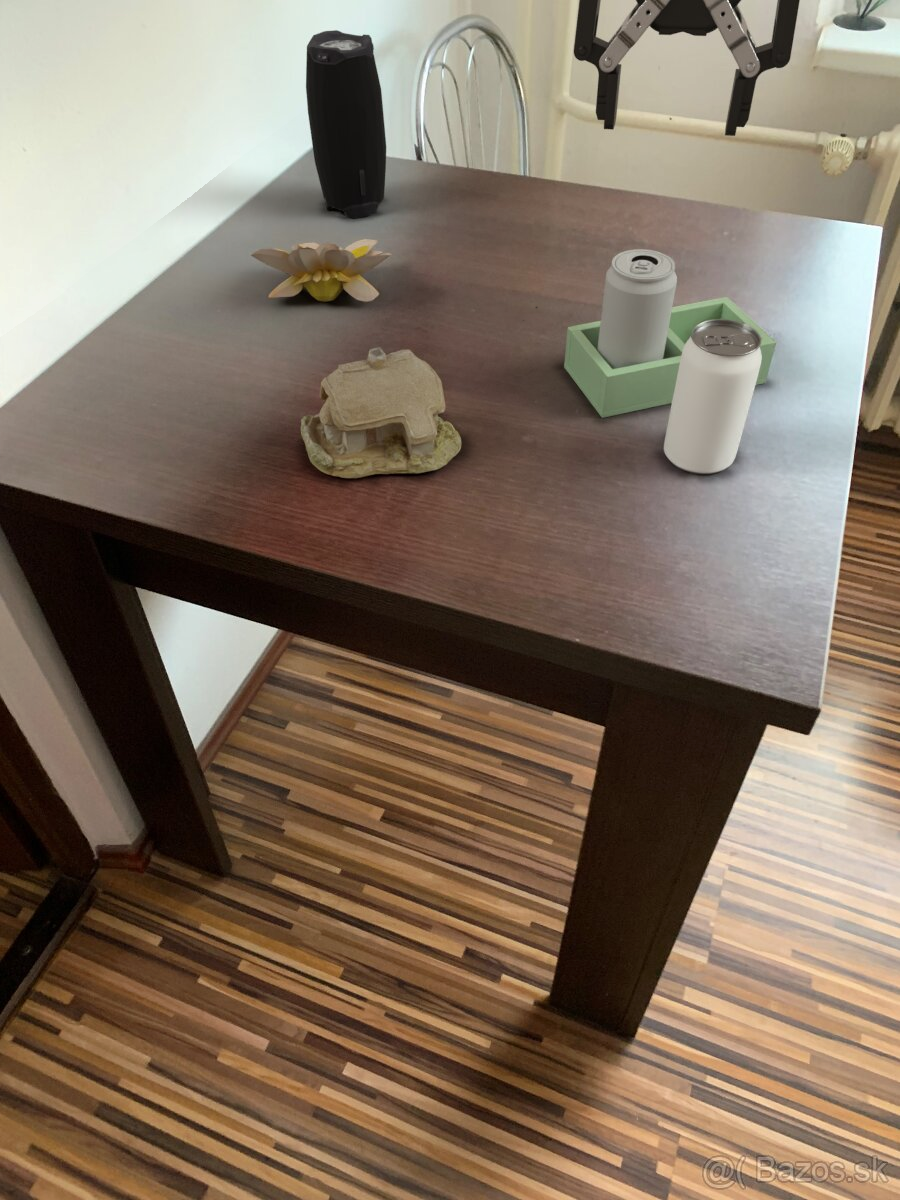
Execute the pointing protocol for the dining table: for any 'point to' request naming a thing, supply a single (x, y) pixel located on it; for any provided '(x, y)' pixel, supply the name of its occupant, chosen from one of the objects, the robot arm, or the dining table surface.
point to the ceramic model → (380, 419)
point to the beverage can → (636, 308)
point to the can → (712, 395)
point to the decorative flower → (325, 269)
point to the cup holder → (650, 379)
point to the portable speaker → (346, 121)
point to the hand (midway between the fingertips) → (669, 129)
